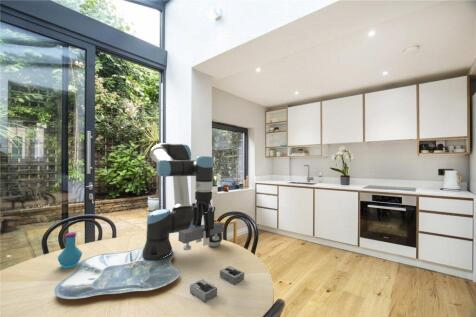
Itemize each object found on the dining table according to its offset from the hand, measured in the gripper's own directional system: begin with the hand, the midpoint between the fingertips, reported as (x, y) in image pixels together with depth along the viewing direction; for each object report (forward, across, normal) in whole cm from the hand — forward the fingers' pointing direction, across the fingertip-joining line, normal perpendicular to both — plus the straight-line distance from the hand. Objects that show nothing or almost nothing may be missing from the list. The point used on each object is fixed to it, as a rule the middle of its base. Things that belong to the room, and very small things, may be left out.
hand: (202, 243), depth 97 cm
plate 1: (+14, +11, -8) cm, 20 cm away
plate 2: (+14, +11, +8) cm, 20 cm away
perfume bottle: (+15, -53, -37) cm, 66 cm away
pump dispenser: (+15, -23, +28) cm, 39 cm away
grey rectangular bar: (0, 0, 0) cm, 0 cm away
